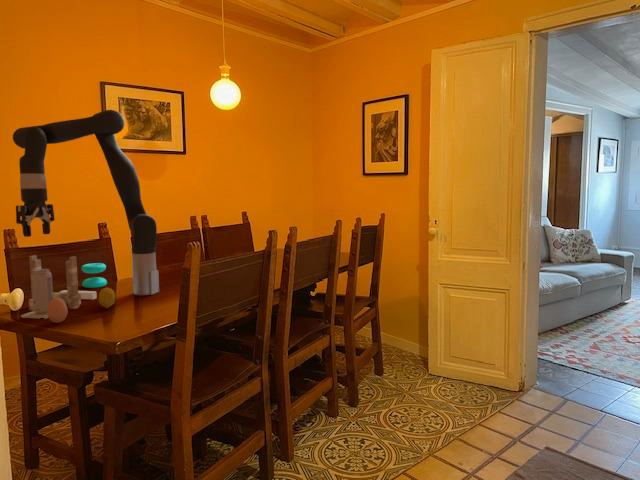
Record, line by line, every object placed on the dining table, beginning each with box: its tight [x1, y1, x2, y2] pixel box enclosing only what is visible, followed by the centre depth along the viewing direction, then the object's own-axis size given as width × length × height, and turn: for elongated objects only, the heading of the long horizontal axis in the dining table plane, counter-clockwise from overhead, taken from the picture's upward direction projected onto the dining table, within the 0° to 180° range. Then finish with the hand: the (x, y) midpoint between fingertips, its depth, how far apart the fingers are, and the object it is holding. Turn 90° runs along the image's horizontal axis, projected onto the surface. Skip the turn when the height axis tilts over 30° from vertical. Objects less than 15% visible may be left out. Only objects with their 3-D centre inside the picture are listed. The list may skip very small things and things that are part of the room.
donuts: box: [81, 262, 108, 289], centre depth 203 cm, size 10×10×10 cm
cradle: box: [28, 254, 82, 312], centre depth 166 cm, size 17×12×19 cm
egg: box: [47, 298, 69, 324], centre depth 147 cm, size 6×6×8 cm
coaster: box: [20, 311, 49, 320], centre depth 157 cm, size 9×9×1 cm
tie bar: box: [59, 289, 98, 300], centre depth 181 cm, size 14×2×3 cm, turn 81°
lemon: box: [98, 286, 116, 309], centre depth 165 cm, size 6×6×8 cm
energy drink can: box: [30, 268, 54, 314], centre depth 156 cm, size 6×6×15 cm
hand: (37, 235), depth 153 cm, fingers open, 8 cm apart
